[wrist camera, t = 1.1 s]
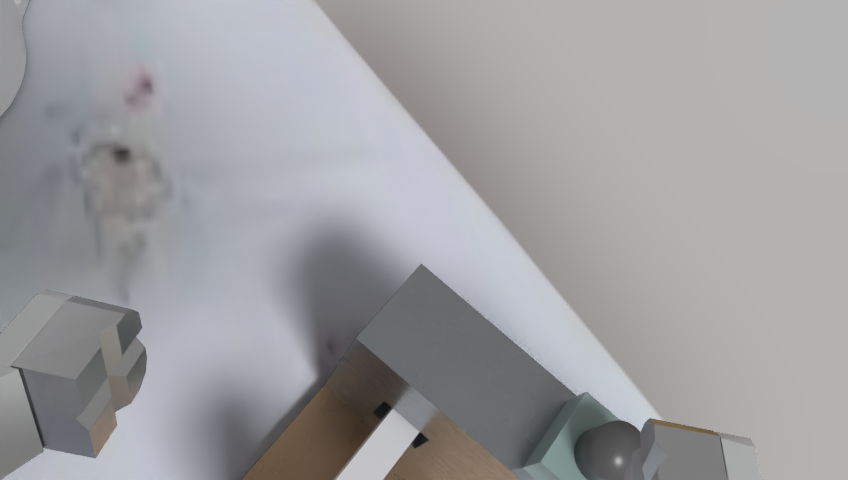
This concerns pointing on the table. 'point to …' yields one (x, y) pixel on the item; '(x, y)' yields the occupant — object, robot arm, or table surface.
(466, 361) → the mount
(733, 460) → the robot arm
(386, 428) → the orange-capped knob
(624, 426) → the potentiometer
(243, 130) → the table surface
